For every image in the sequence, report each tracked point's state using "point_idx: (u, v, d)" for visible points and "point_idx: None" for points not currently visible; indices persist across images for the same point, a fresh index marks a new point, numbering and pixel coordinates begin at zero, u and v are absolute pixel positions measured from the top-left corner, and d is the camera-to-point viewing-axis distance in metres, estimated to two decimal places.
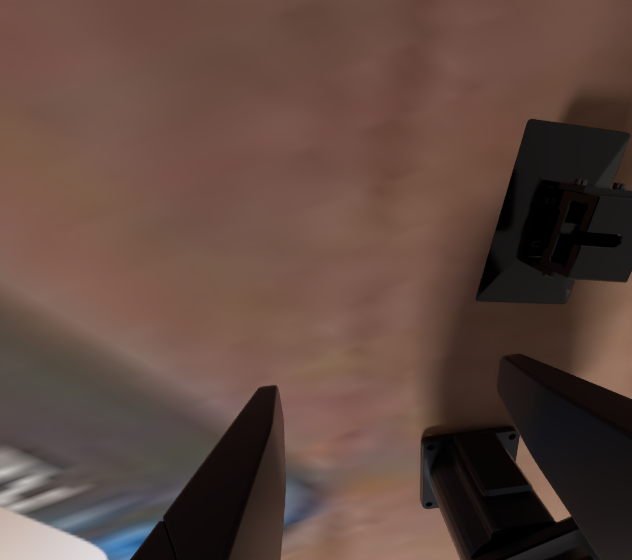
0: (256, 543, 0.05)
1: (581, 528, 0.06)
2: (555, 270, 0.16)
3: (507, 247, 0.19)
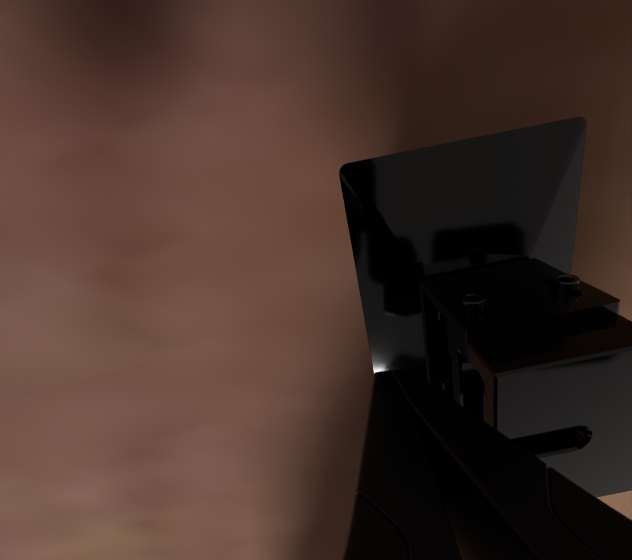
0: None
1: None
2: None
3: None
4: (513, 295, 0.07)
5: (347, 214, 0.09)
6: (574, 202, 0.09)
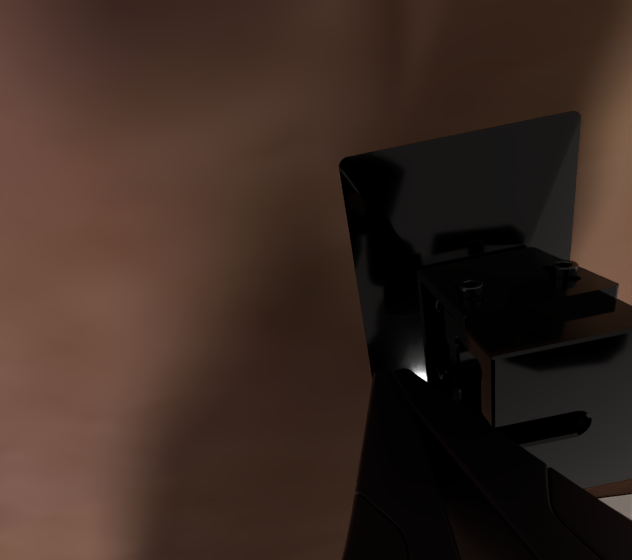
0: None
1: None
2: None
3: None
4: (511, 281, 0.07)
5: None
6: (572, 190, 0.09)
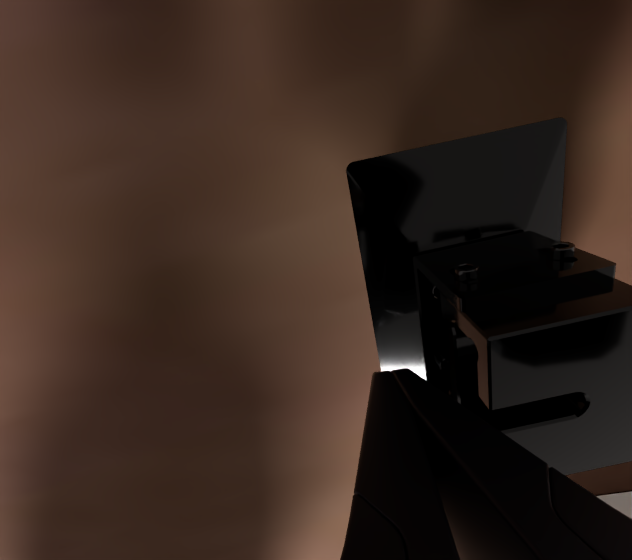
0: None
1: None
2: None
3: None
4: (507, 264, 0.07)
5: None
6: None
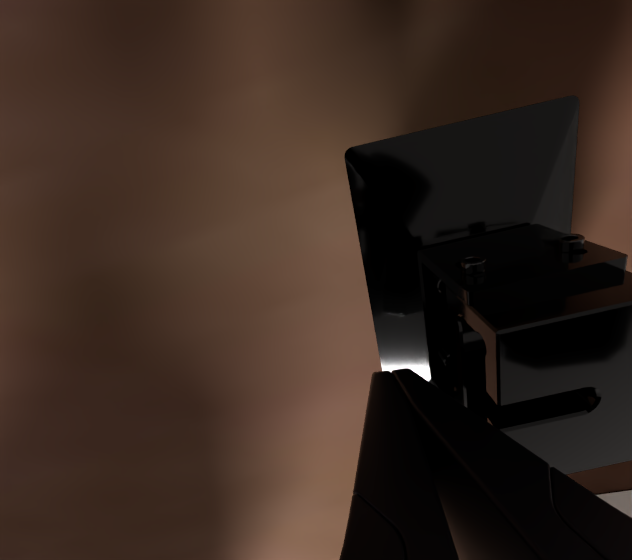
0: None
1: None
2: None
3: (407, 366, 0.10)
4: (514, 257, 0.07)
5: None
6: None
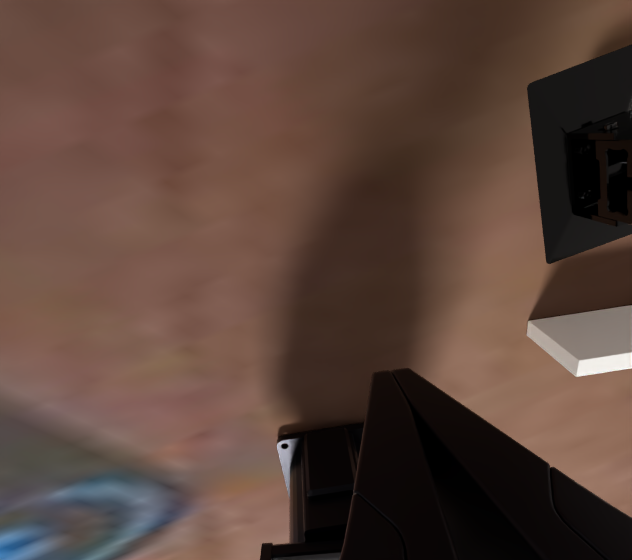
0: None
1: None
2: (618, 219, 0.16)
3: (557, 207, 0.18)
4: (628, 120, 0.15)
5: None
6: None
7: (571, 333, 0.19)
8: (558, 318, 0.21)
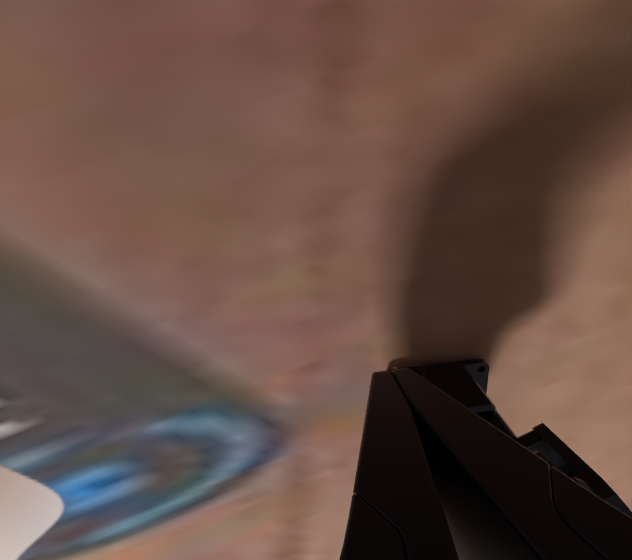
0: None
1: None
2: None
3: None
4: None
5: None
6: None
7: None
8: None
